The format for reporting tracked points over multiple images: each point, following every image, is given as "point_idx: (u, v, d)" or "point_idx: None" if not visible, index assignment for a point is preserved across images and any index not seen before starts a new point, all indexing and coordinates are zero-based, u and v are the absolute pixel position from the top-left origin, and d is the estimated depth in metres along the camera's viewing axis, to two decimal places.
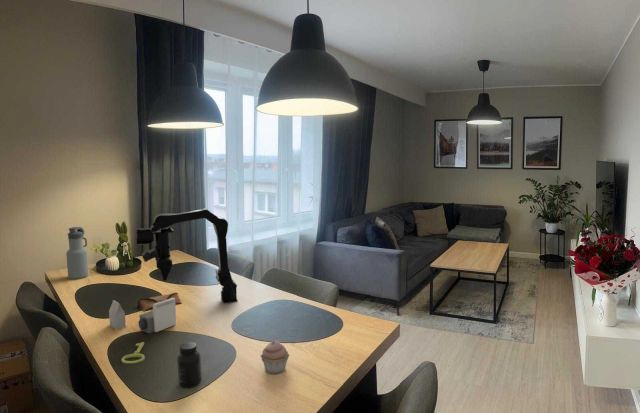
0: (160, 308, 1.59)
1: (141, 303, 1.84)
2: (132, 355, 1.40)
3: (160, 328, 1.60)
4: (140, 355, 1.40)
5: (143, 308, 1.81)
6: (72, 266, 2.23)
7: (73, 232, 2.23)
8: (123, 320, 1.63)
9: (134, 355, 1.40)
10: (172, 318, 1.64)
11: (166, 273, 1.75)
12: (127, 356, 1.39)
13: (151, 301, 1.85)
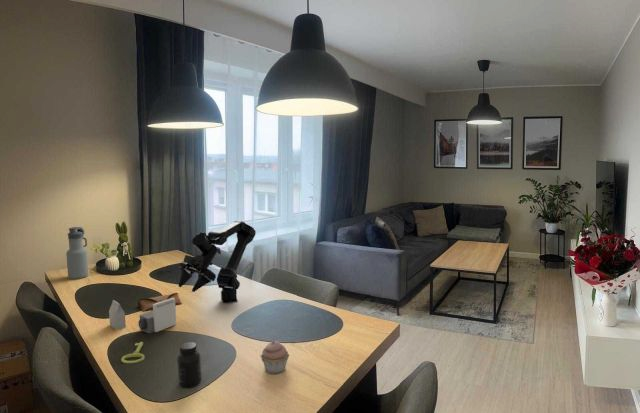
0: (160, 308, 1.59)
1: (141, 303, 1.83)
2: (132, 355, 1.40)
3: (160, 328, 1.60)
4: (140, 355, 1.40)
5: (143, 308, 1.81)
6: (72, 266, 2.23)
7: (73, 232, 2.23)
8: (123, 320, 1.63)
9: (134, 355, 1.40)
10: (172, 318, 1.64)
11: (200, 285, 1.68)
12: (127, 356, 1.39)
13: (151, 301, 1.85)
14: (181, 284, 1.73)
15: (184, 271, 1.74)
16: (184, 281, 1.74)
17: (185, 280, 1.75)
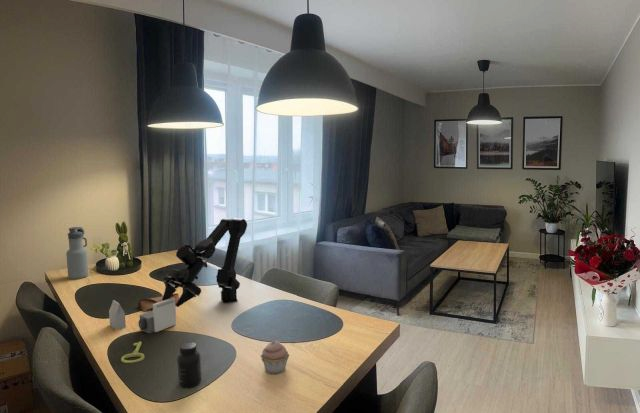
0: (160, 308, 1.59)
1: (141, 304, 1.83)
2: (131, 354, 1.40)
3: (160, 328, 1.60)
4: (139, 354, 1.40)
5: (143, 309, 1.80)
6: (72, 266, 2.23)
7: (73, 232, 2.23)
8: (123, 320, 1.63)
9: (133, 354, 1.40)
10: (172, 318, 1.64)
11: (184, 300, 1.62)
12: (126, 356, 1.39)
13: (151, 301, 1.84)
14: (165, 298, 1.66)
15: (168, 285, 1.68)
16: (168, 295, 1.68)
17: (169, 294, 1.68)
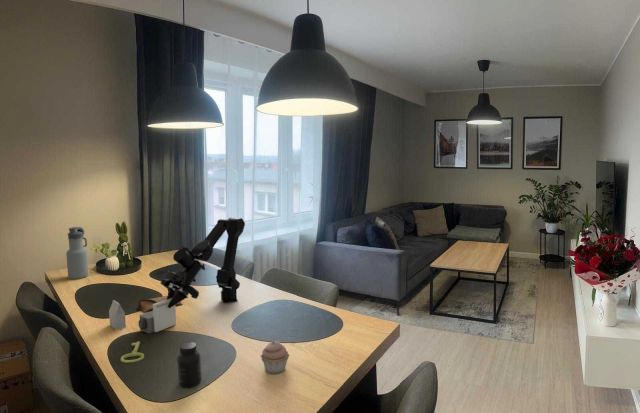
0: (160, 308, 1.59)
1: (141, 304, 1.82)
2: (131, 354, 1.40)
3: (160, 328, 1.60)
4: (139, 354, 1.41)
5: (143, 309, 1.80)
6: (72, 266, 2.23)
7: (73, 232, 2.23)
8: (123, 320, 1.63)
9: (133, 354, 1.40)
10: (172, 318, 1.64)
11: (176, 301, 1.63)
12: (126, 355, 1.40)
13: (151, 302, 1.84)
14: None
15: (171, 290, 1.65)
16: None
17: None
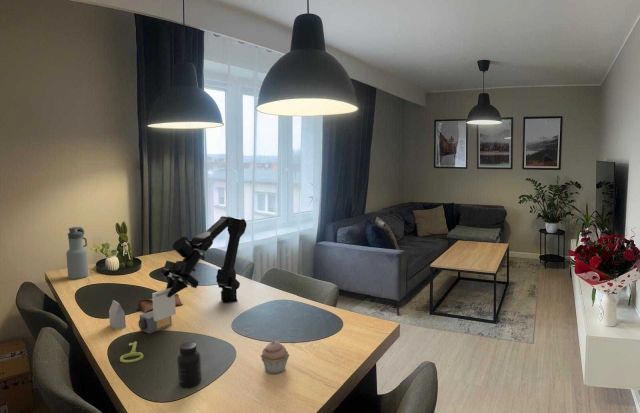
0: (159, 297, 1.59)
1: (142, 305, 1.82)
2: (129, 354, 1.40)
3: (159, 317, 1.59)
4: (138, 353, 1.41)
5: (144, 310, 1.79)
6: (72, 266, 2.23)
7: (73, 232, 2.23)
8: (123, 320, 1.63)
9: (131, 354, 1.41)
10: (172, 307, 1.64)
11: (176, 291, 1.63)
12: (124, 356, 1.40)
13: (152, 302, 1.83)
14: None
15: (170, 279, 1.64)
16: None
17: None
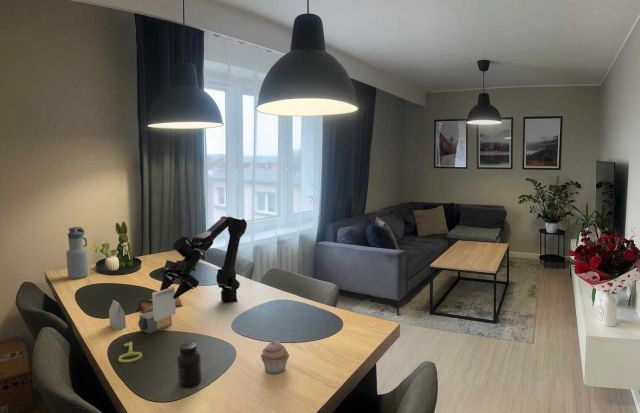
0: (159, 297, 1.59)
1: (142, 305, 1.81)
2: (127, 354, 1.40)
3: (159, 317, 1.59)
4: (136, 353, 1.41)
5: (144, 310, 1.79)
6: (72, 266, 2.23)
7: (73, 232, 2.23)
8: (123, 320, 1.63)
9: (129, 354, 1.41)
10: (172, 307, 1.64)
11: (181, 292, 1.61)
12: (123, 356, 1.39)
13: (152, 303, 1.83)
14: None
15: (165, 277, 1.67)
16: (165, 288, 1.66)
17: (166, 287, 1.67)
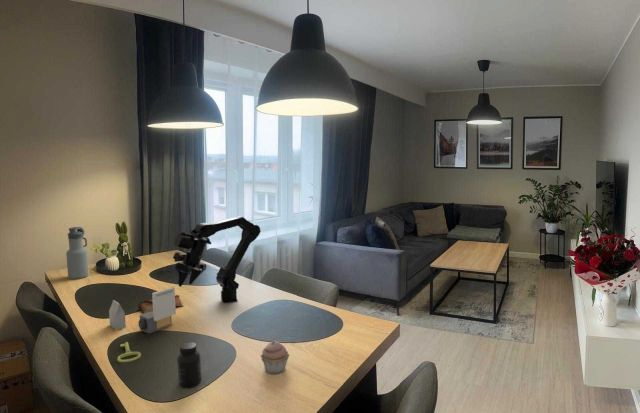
0: (159, 297, 1.59)
1: (142, 306, 1.80)
2: (126, 354, 1.40)
3: (159, 317, 1.59)
4: (134, 353, 1.41)
5: (144, 311, 1.78)
6: (72, 266, 2.23)
7: (73, 232, 2.23)
8: (123, 320, 1.63)
9: (128, 354, 1.41)
10: (172, 307, 1.64)
11: (182, 279, 1.74)
12: (121, 356, 1.39)
13: (152, 303, 1.82)
14: (190, 281, 1.84)
15: (191, 269, 1.85)
16: (193, 278, 1.84)
17: (194, 277, 1.84)
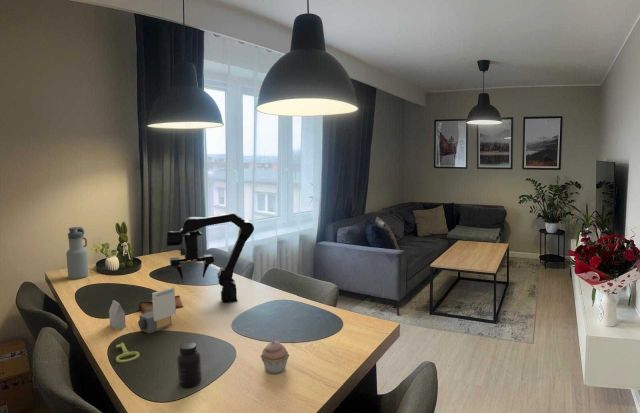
0: (159, 297, 1.59)
1: (142, 306, 1.80)
2: (124, 354, 1.40)
3: (159, 317, 1.59)
4: (133, 352, 1.42)
5: (144, 311, 1.77)
6: (72, 266, 2.23)
7: (73, 232, 2.23)
8: (123, 320, 1.63)
9: (126, 354, 1.41)
10: (172, 307, 1.64)
11: (179, 273, 1.84)
12: (119, 356, 1.39)
13: (152, 304, 1.81)
14: (202, 274, 1.89)
15: (203, 262, 1.90)
16: (203, 271, 1.88)
17: (203, 270, 1.88)
